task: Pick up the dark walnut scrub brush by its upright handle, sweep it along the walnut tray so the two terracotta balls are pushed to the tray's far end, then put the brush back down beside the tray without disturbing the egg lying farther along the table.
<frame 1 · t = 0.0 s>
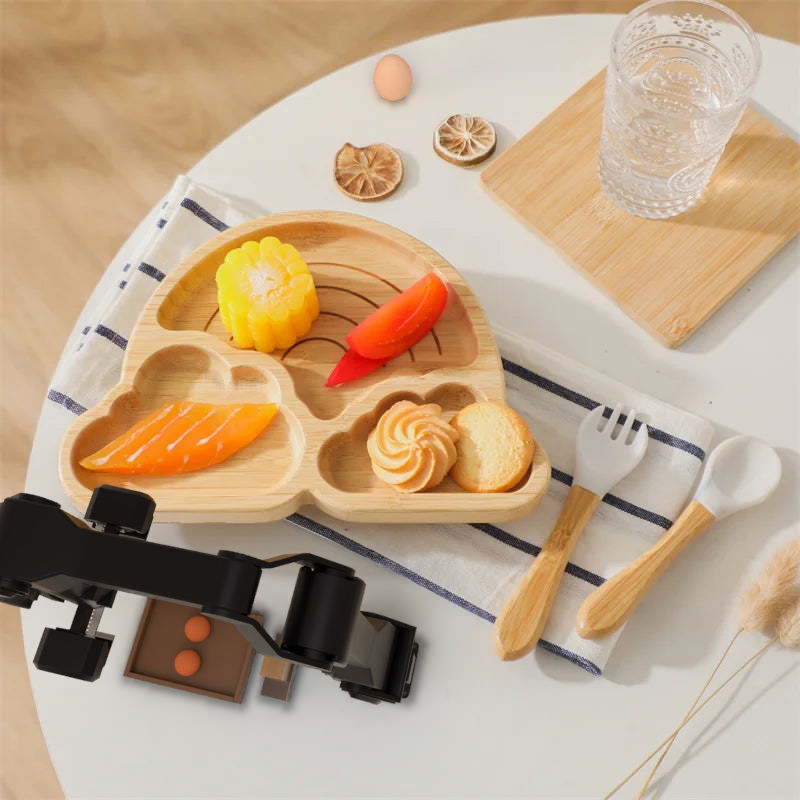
hand: (124, 593, 98), 15 cm above the table, tool pointing down, fingers open, 9 cm apart
egg: (393, 95, 139), on the table
ball b: (187, 662, 107), point 2 cm above the table, touching tray
ball a: (197, 628, 109), point 2 cm above the table, touching tray
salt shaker: (88, 554, 115), on the table
tray: (197, 647, 110), on the table
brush: (284, 668, 109), on the table
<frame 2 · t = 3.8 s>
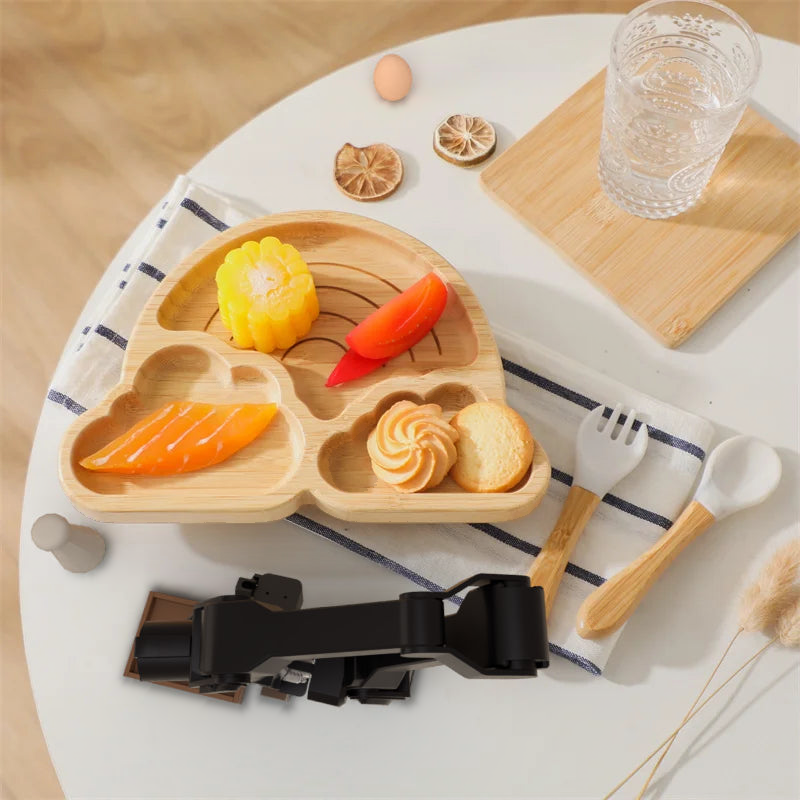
hand: (279, 665, 105), 4 cm above the table, tool pointing down, fingers closed on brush, 2 cm apart
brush: (284, 668, 109), on the table, touching gripper
everything else where it was.
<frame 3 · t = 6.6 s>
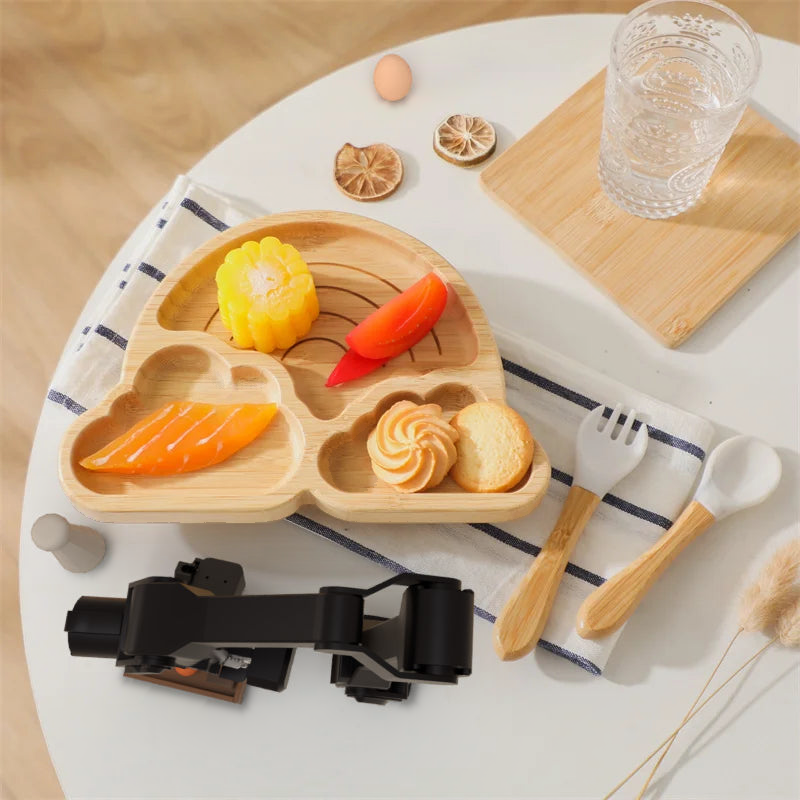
hand: (224, 651, 104), 5 cm above the table, tool pointing down, fingers closed on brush, 2 cm apart
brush: (231, 655, 108), point 2 cm above the table, touching gripper
everything else where it was.
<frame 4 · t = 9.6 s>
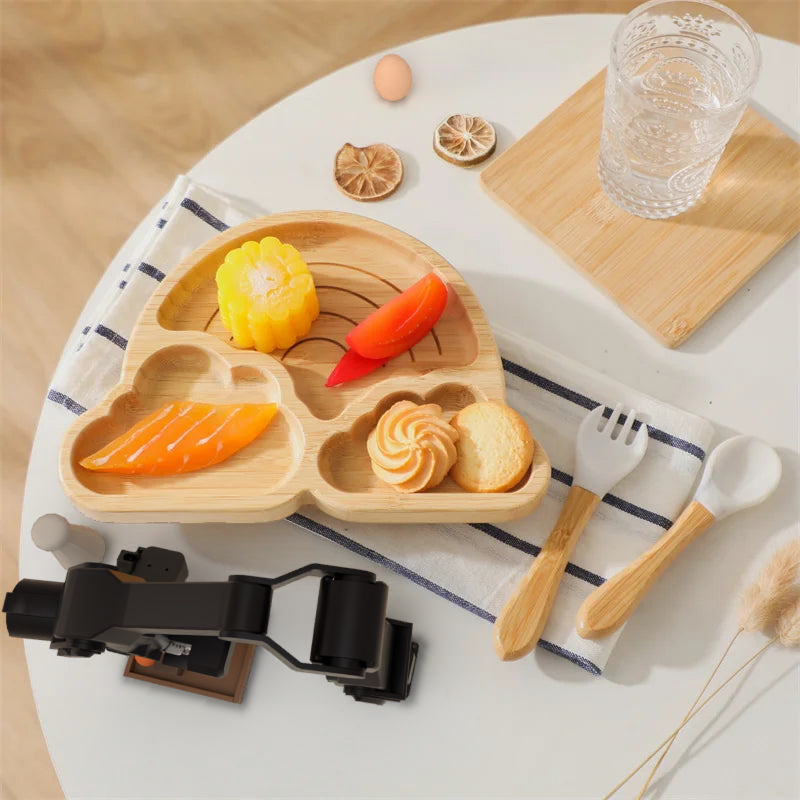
hand: (171, 639, 106), 4 cm above the table, tool pointing down, fingers closed on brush, 2 cm apart
ball b: (147, 653, 108), point 2 cm above the table, tilted 169°, touching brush, tray
ball a: (158, 619, 109), point 2 cm above the table, tilted 169°, touching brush, tray
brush: (179, 643, 109), point 1 cm above the table, touching ball a, ball b, gripper
everything else where it was.
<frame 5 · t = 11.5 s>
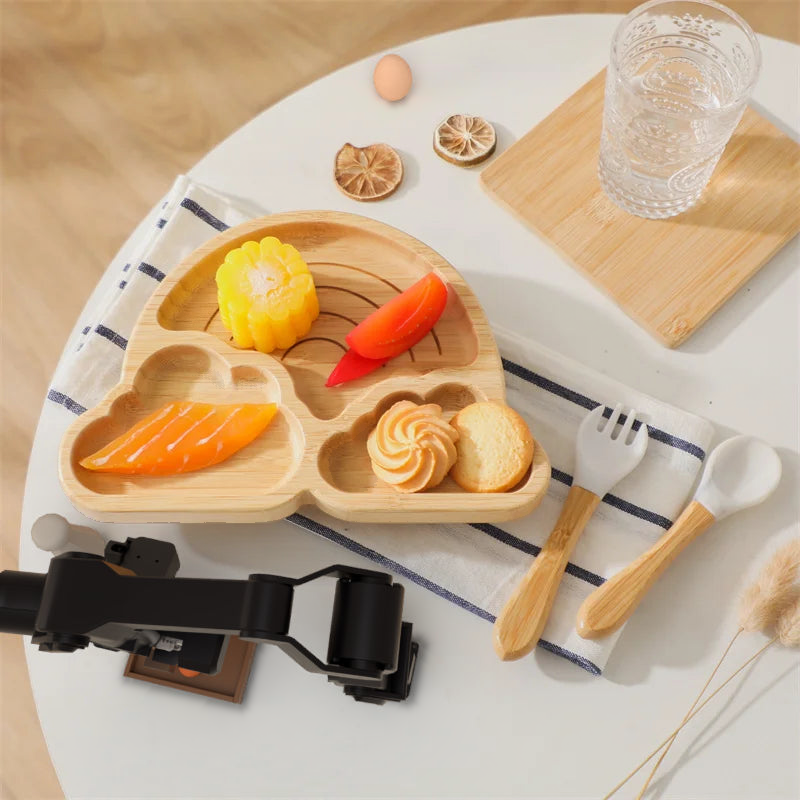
hand: (162, 635, 101), 9 cm above the table, tool pointing down, fingers closed on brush, 2 cm apart
ball b: (191, 663, 107), point 2 cm above the table, tilted 7°, touching tray
ball a: (201, 629, 109), point 2 cm above the table, tilted 7°, touching tray
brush: (171, 639, 105), point 6 cm above the table, touching gripper
everything else where it was.
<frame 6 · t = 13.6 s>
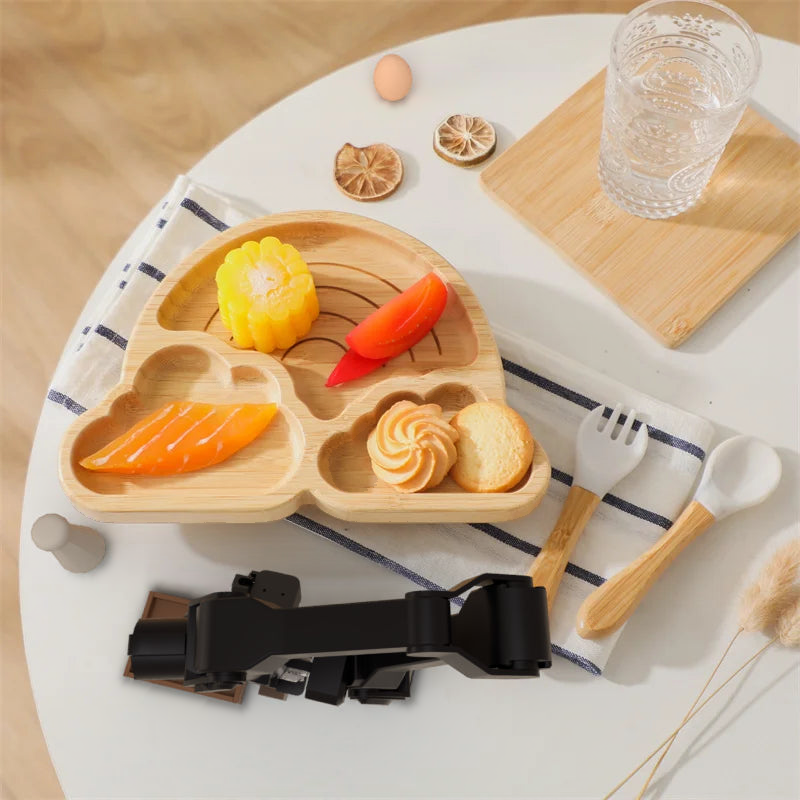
hand: (277, 664, 104), 5 cm above the table, tool pointing down, fingers closed on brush, 2 cm apart
ball b: (199, 665, 107), point 2 cm above the table, tilted 48°, touching tray
ball a: (207, 631, 108), point 2 cm above the table, tilted 36°, touching tray
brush: (282, 667, 107), point 2 cm above the table, touching gripper
everything else where it was.
when the fingers open (3 cm above the table, at t = 14.3 s): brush stays where it is, on the table.
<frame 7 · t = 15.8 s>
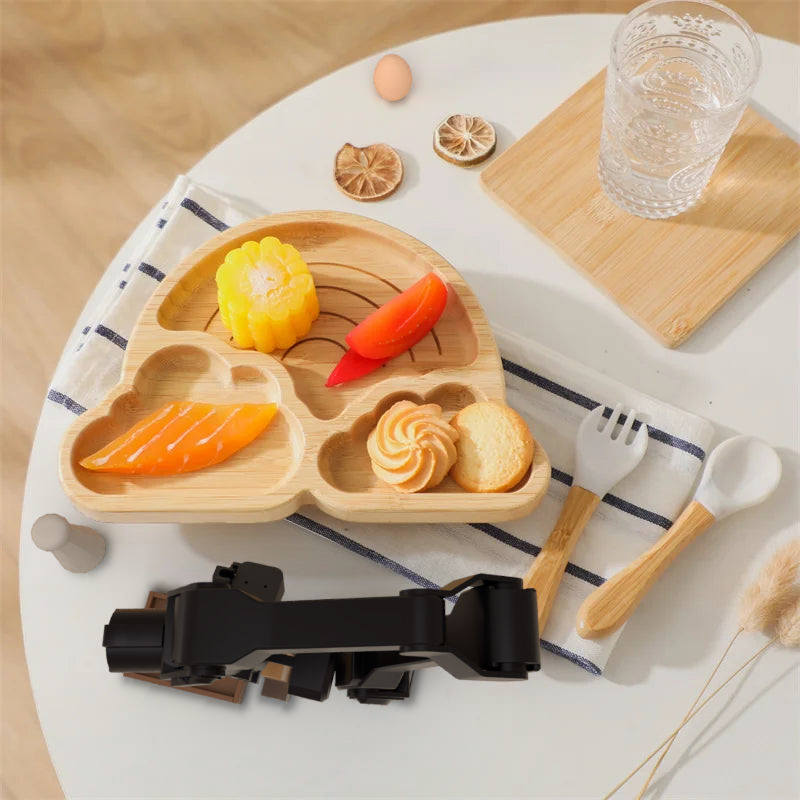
hand: (259, 659, 100), 9 cm above the table, tool pointing down, fingers open, 9 cm apart
ball b: (165, 657, 108), point 2 cm above the table, tilted 117°, touching tray
ball a: (169, 622, 109), point 2 cm above the table, tilted 146°, touching tray
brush: (284, 668, 109), on the table
everything else where it was.
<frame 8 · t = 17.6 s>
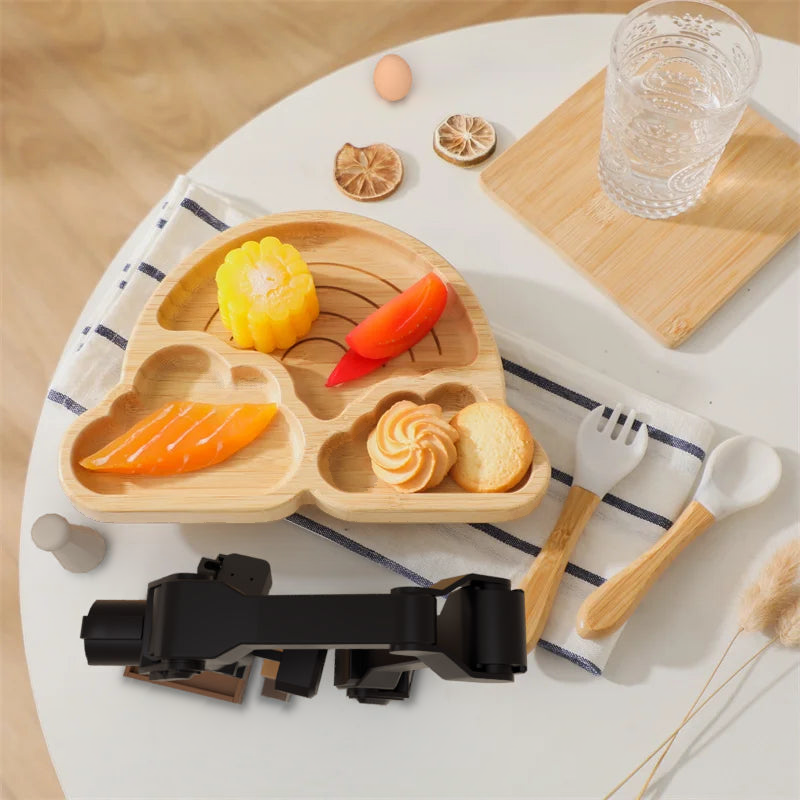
hand: (248, 654, 98), 12 cm above the table, tool pointing down, fingers open, 9 cm apart
ball b: (151, 654, 108), point 2 cm above the table, tilted 177°, touching tray
ball a: (160, 620, 109), point 2 cm above the table, tilted 168°, touching tray
everything else where it was.
at the end: ball a inside the target area in the tray (2.0 cm from its centre), point 2.1 cm above the tray's base; ball b inside the target area in the tray (2.0 cm from its centre), point 2.1 cm above the tray's base; egg moved 0.2 cm from its start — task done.
